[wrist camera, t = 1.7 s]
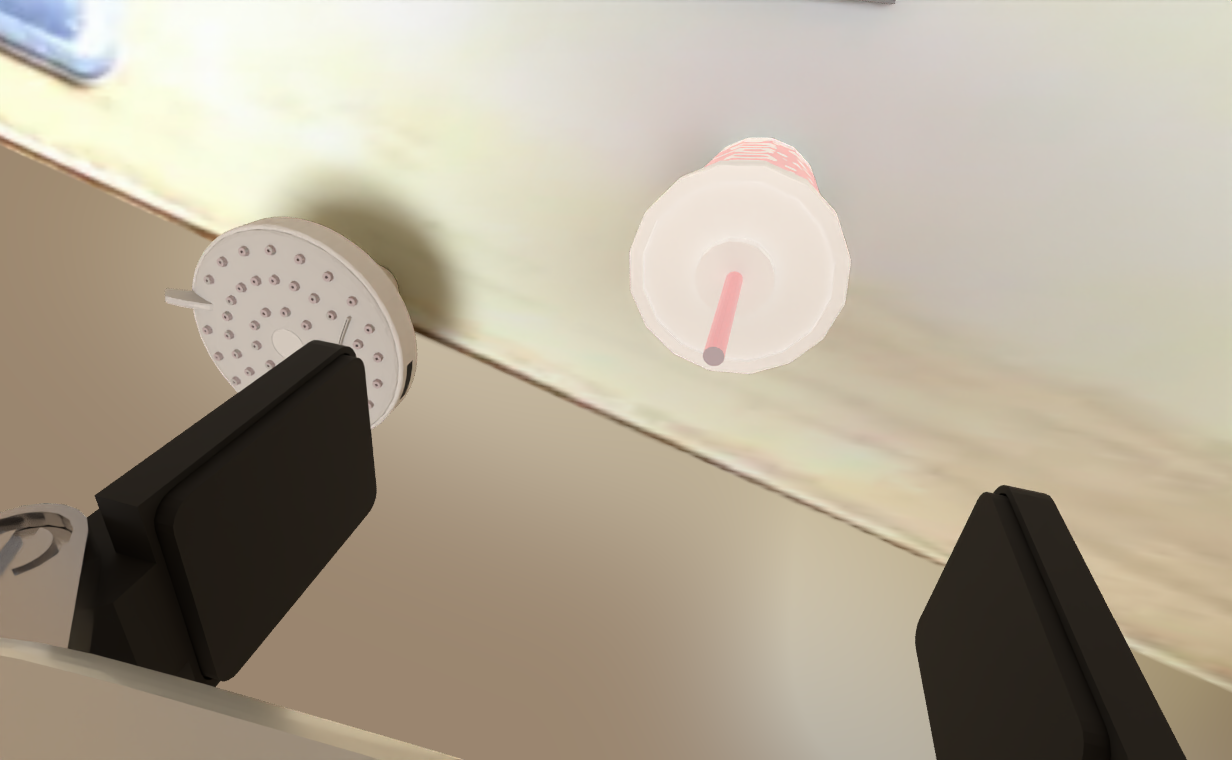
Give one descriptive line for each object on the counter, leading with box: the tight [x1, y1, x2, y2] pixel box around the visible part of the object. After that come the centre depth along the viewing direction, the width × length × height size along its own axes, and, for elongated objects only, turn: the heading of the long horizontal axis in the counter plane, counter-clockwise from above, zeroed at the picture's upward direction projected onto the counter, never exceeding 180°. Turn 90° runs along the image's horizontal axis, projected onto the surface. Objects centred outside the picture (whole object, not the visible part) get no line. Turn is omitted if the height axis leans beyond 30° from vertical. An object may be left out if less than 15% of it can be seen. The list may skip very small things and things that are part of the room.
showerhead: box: [165, 217, 417, 429], centre depth 30 cm, size 9×7×10 cm
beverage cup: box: [629, 138, 851, 374], centre depth 21 cm, size 6×6×14 cm
